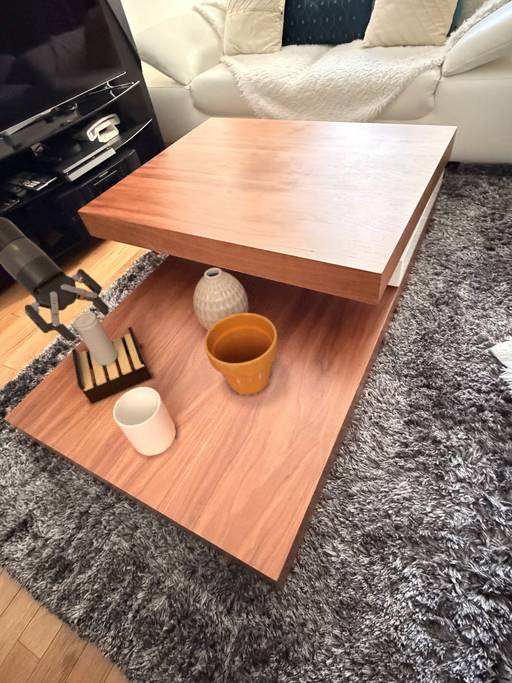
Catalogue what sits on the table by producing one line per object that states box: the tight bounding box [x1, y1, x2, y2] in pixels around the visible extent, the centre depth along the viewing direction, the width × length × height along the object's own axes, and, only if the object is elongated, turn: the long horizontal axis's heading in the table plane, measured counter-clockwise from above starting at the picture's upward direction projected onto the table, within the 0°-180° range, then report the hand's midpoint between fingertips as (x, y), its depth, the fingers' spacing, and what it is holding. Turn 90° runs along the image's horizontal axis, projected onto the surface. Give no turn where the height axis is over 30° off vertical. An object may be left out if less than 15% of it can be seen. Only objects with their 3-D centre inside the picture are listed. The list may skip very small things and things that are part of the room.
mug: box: [112, 386, 177, 456], centre depth 74 cm, size 9×12×11 cm
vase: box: [192, 267, 249, 332], centre depth 91 cm, size 13×13×17 cm
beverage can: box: [73, 311, 118, 366], centre depth 83 cm, size 5×5×12 cm
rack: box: [71, 326, 153, 405], centre depth 88 cm, size 14×12×7 cm
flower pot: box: [203, 312, 279, 396], centre depth 79 cm, size 14×14×13 cm
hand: (91, 326), depth 79 cm, fingers open, 8 cm apart
